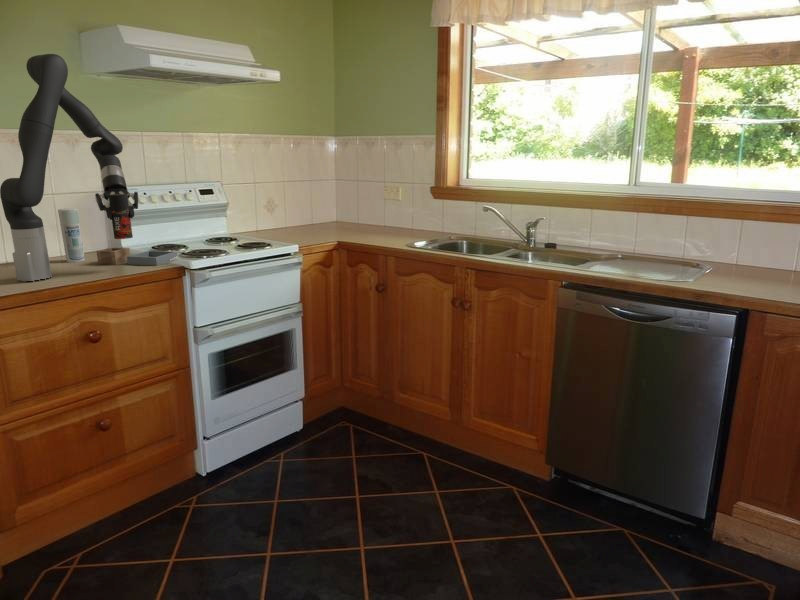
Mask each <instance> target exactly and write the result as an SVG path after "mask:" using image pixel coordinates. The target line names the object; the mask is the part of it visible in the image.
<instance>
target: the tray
mask: <svg viewBox="0 0 800 600" xmlns="http://www.w3.org/2000/svg"><path fill="white" fill-rule="evenodd" d="M176 256H177V257H178V251H173V250H172V251H170V250H167V251H166V250H146V251H142V252H138V253H135V254H130V256H127V262H126V263H127V265H137V266H155V267H156V266H161V265H163V264H167V263H170V262H171V261H170V259H172V258H174V257H176ZM169 261H170V262H169Z"/></svg>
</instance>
